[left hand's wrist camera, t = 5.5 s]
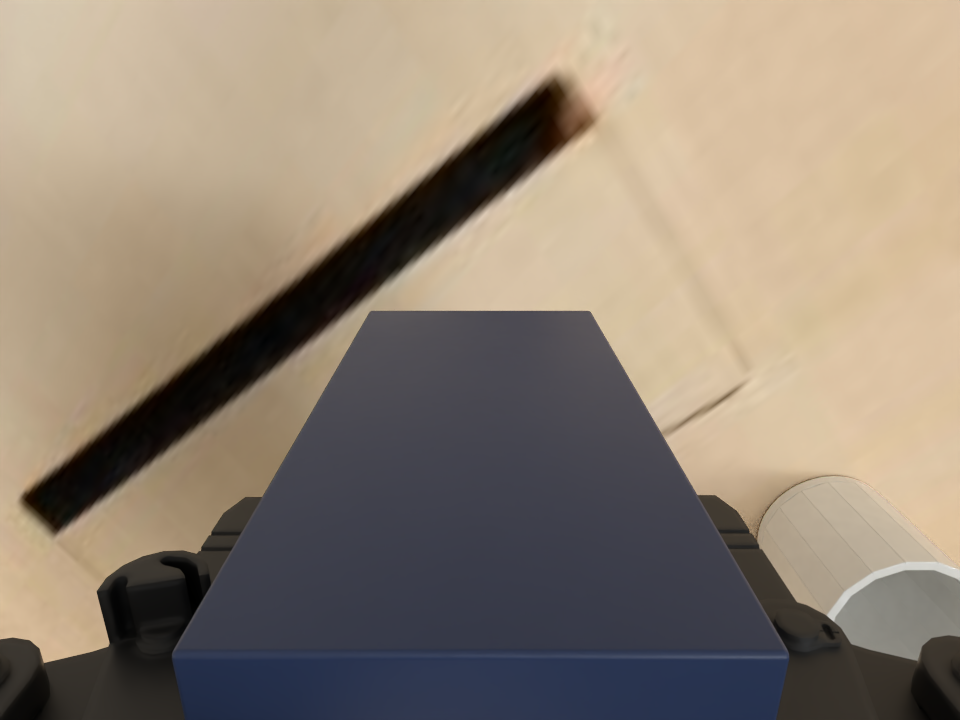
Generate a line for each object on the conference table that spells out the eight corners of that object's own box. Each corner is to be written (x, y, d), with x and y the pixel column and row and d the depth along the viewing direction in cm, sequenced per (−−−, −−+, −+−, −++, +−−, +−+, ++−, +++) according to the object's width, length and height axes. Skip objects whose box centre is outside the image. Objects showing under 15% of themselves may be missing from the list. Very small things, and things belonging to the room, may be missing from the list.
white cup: (767, 475, 31) (838, 562, 25) (900, 475, 31) (1005, 562, 25) (748, 584, 33) (809, 689, 27) (872, 584, 33) (962, 689, 27)
